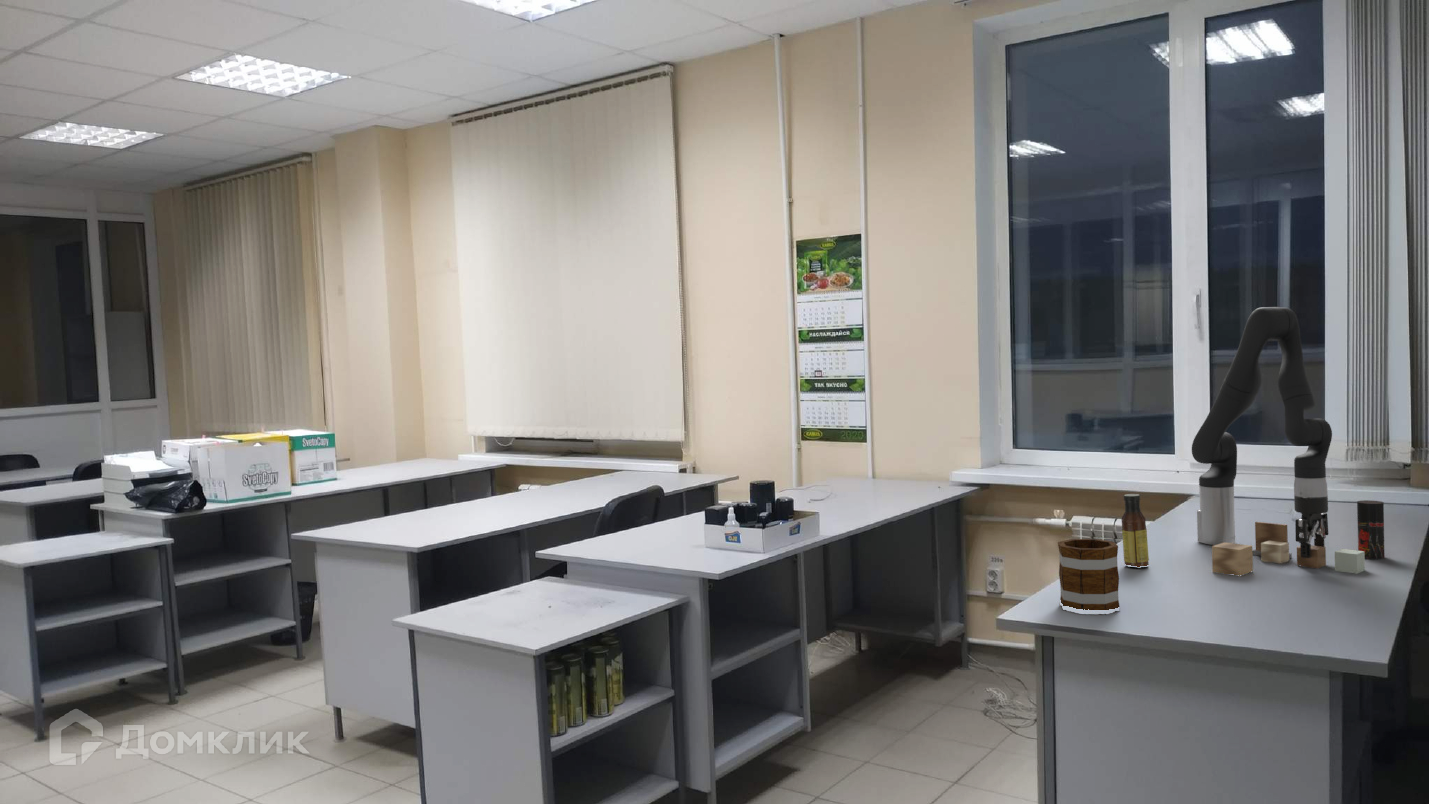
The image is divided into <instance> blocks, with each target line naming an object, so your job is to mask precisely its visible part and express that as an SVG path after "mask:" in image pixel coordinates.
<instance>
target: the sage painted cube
mask: <svg viewBox="0 0 1429 804" xmlns="http://www.w3.org/2000/svg"><path fill="white" fill-rule="evenodd" d="M1365 559H1366V558H1365V553H1364V551H1358V549H1357V550H1356V549H1354V550H1353V549H1346V548H1341V549H1339V550H1336V551H1334V571H1336V572H1342V573H1350V574H1360V573H1363V572H1364V571H1365V570H1366V565H1365V564H1366V560H1365Z"/></svg>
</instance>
